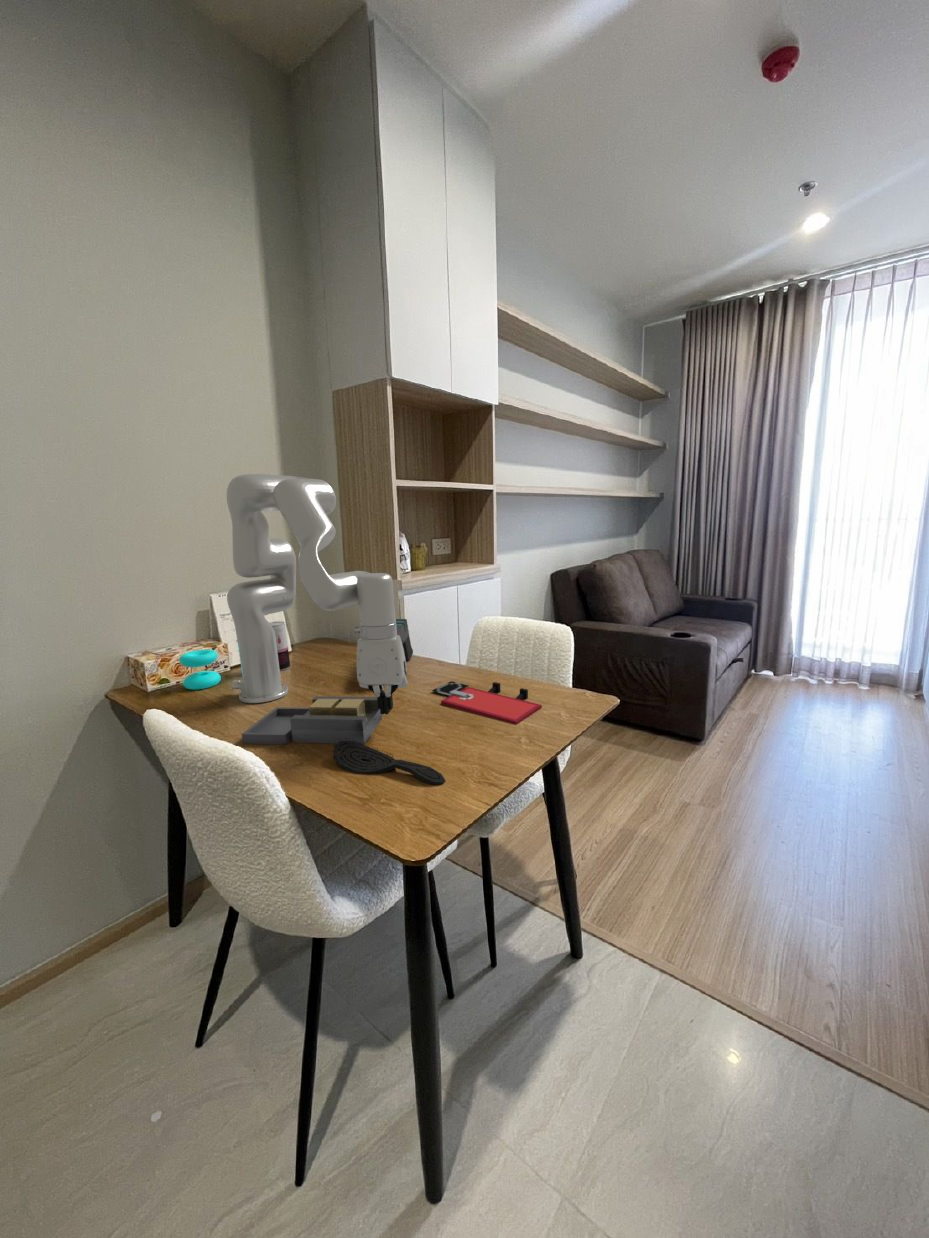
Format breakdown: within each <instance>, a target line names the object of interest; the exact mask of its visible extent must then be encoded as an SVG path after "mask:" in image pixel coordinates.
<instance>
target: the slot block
mask: <svg viewBox="0 0 929 1238" xmlns="http://www.w3.org/2000/svg"><path fill="white" fill-rule="evenodd" d="M317 699H339V703H340V702H341V701H342V700H343V699H364V702H365V713H366V714H365V715H364V716H335V715H310V713H309V714H308V715H294V716H293V717H291V718H290V722H291V730H292V738H293V739H292V743H297V744H299V743H300V744H301V743H302V744H304V743H305V744H337V743H339V742H340V741H354V742H357V743H359V742H361V743H360V744H363V745H365V744H366V742H367V741H368V739H370V737H371V735H372V734H373V733H374V731H375V729H376V728H377V727H378V726H379V724H380V722H381V721H382V720H383V714H380V709H378V702H377V697H376V696H323V695H322V696H317V695H316V696H315V697H314V698H312V699H311V701H312V704H313V703H314V702H315V701H316V700H317ZM341 738H342V739H341ZM339 739H340V740H339ZM338 740H339V741H338ZM335 742H337V743H335ZM364 743H365V744H364Z"/></svg>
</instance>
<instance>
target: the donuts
mask: <svg viewBox="0 0 929 1238" xmlns="http://www.w3.org/2000/svg"><path fill="white" fill-rule="evenodd" d="M218 656H219V655H218V653H217V651H216V650H214V649H198V650H193V651H189V652H185V653H184V654H182V655H180V657H179V658H178V659H179V663H180V665H182V666H183V667H185V668H202V667H205V666H209V665H211V664H213V663H214V662H216V661H217V659H218ZM221 680H222V677H221V674H220V673H218V672H216V671H214V670H203V671H202V670H201V671H197V672H196V671H195V672H194V673H191V674H189V675H187V676H186V677H185V678H184V680H183V683H182V684H183V687H184V688H185V689H188V690H193V691H194V690H204V689H209V688H212V687H215V686H216V685H218V684H219V683H220V682H221Z"/></svg>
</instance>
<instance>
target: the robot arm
mask: <svg viewBox="0 0 929 1238" xmlns="http://www.w3.org/2000/svg"><path fill="white" fill-rule="evenodd" d="M227 485H228V486H227V488H226V503H227V507H228V511H229V515H230V519H231V526H232V530H231V531H232V532H231V533H232V534H231V535H232V537H231V538H232V561H233V563H232V564H233V568H234V571H235V573H236V574H237V575H238V576H240V577H242V578H247V579H249V578H261V577H268V576H270V578H266V579H265V578H264V579H255V580H249V581H243V582H240V583H236V584H234V585H233V586H232V587H230V589H228V592H227V593H226V594H227V595H226V601H227V605H228V609H229V611H230V614H231V617H232V620H233V624H234V629H235V635H236V641H237V647H238V653H239V655H238V656H239V661H240V668H241V675H242V680H240V679H234V680H232V683H231V684H232V685H231V689H232V690H240V692H239V695H238V699H239V701H240V702H242V703H245V704H261V703H267V702H271V701H275V700H277V699H280V698H282V697H285V696H286V695H287V694H288V693H289V687H288V686H287V685H286V684H284V683H283V684H282V678H281V677H282V676H281V671H280V669H279V661H278V653H277V645H276V637H275V631H274V629H273V627H272V625H271V624H270V622H269V621H268V619H267V618H266V617H265V616H267V615H271V614H277V613H280V612H285V611H287V610H289V609H291V608H292V607H293V606H294V603H295V601H296V600H295V599H296V593H297V591H296V590H297V589H296V588H297V566H298V575H299V577H300V578H299V579H300V581H301V583H302V585H303V587H304V589H305V590H306V591H307V593H308V595H309V596H310V598H311V599H312V601H313V602H314V603H315V604H316V605H317V606H318V607H319V608H320V609H322V610H324V611H328V612H329V611H330V612H332V611H338V610H342V609H347V608H350V607H355V606H358V612H359V613H358V615H359V623H360V624H359V625H358V626H355V627H354V633H358V634H359V635H360V638H358V639H357V643H356V680H357V682H358V684H359V685H358V686H359V687H360V688H363V689H366V690H367V689H368V690H369V691H371V692H372V694H374V697H377V702H378V709H380V714H382V715H384V714H385V715H389V713H390V712H391V711H392V710H393V709H394V701H393V694H394V692H395V691H397V689H404V688H406V687H407V686H408V685H409V682H408V679H407V674H408V668H407V661H406V660H405V654H404V649H403V645H402V641H401V638H400V636H399V635H397V628H396V619H397V618H396V607H395V606H396V604H395V593H394V582H393V577H392V576H391V575H390V574H388V573H386V572H384V573H383V572H373V573H372V572H368V571H364V570H354V571H348V572H346V571H345V572H340V573H338V572H337V573H334V574H333V573H332V574H328V572H327V571H326V569H325V568H324V566H323V564H322V563H321V560H320V557H319V552H320V551H322V550H323V549H325V548H326V547H328V546H329V545H330V544H331V543H332V541H333V540H335V536H336V533H337V532H336V527H335V526H334V525H333V523H332V521H331V519H330V517H328V515H330V514H331V513H333V512H334V510H335V509H336V506H337V497H336V493H335V490H334V489H333V488H332V486H331V485H330V484H329V483H328V482H327V481H325V480H323V479H318V478H317V479H316V478H308V477H301V476H295V475H282V474H281V475H279V474H278V475H276V474H265V473H264V474H263V473H262V474H261V473H247V474H246V473H245V474H240V475H237V476H235V477H234V478H232V479H231V481H230V482H229V483H228V484H227ZM262 511H264V512H265V511H267V512H268V511H272V512H274V511H277V512H278V511H279V512H280V514H281V515H282V517H283V519H284V520H285V522H286V524H287V525H288V526H289V528H290V530H291V532H292V533H293V535H294V536H295V538H296V539H297V542H298V543H299V545H300V550H299V552H298V556H296V552H295V550H294V548H293V546H292V545H291V544H290V542H288V541H287V540H286V539H282V538H270V533H269V532H270V525H269V521H268V520H267V518H266V516H265V514H264V513H263V512H262ZM297 557H298V558H297ZM384 686H385V690H384Z"/></svg>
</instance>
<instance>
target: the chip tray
mask: <svg viewBox="0 0 929 1238" xmlns="http://www.w3.org/2000/svg"><path fill="white" fill-rule="evenodd" d="M308 714H309V707H290V706H289V707H288V706H287V707H286V706H282V707H280V706H279V707H275V708H273V710H271V711H269V712H268V713H267V714H266V715H264V716H263V717H262V718H260V719H259V720H258V721H256V722H255V723H253V725H252V726H250V727H249V728H248V729H247V730H244V731H243V732H242V733H241V738H242V744H244V745H245V744H247V745H248V744H249V745H250V744H251V745H252V744H253V745H288V744H289V743H290V742H291V741H293V738H292V730H291V722H290V718H291V717H293V716H294V715H308Z"/></svg>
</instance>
